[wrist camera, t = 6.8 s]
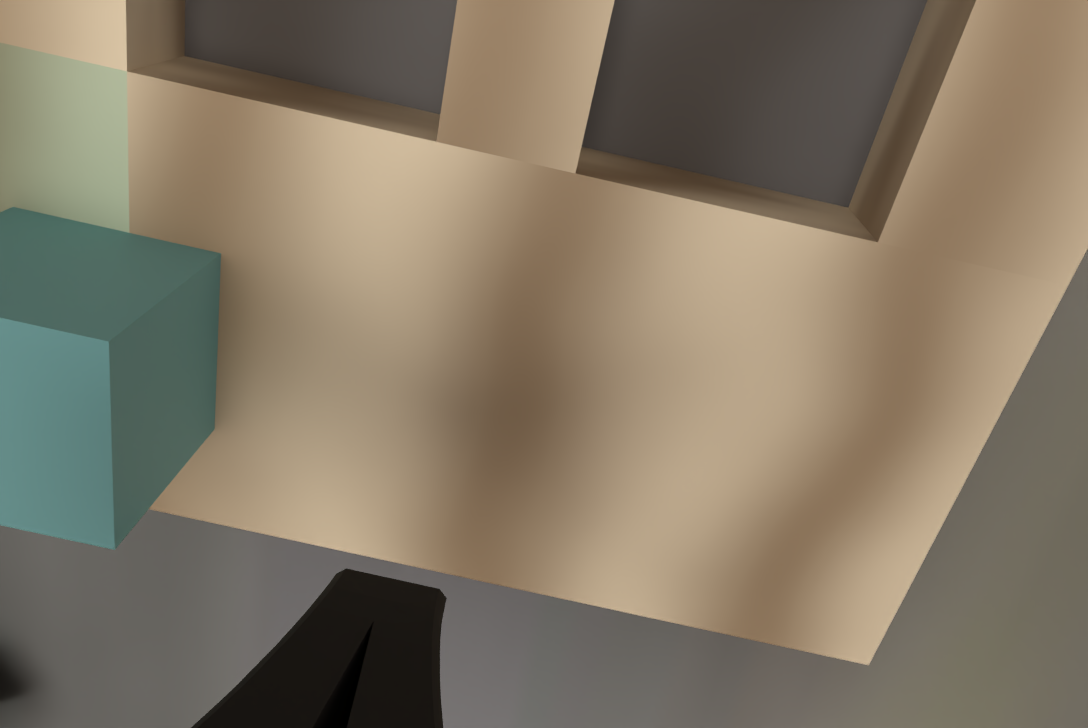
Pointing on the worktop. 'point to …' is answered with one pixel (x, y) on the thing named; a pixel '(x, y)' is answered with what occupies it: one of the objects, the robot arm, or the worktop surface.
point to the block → (99, 372)
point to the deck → (588, 272)
